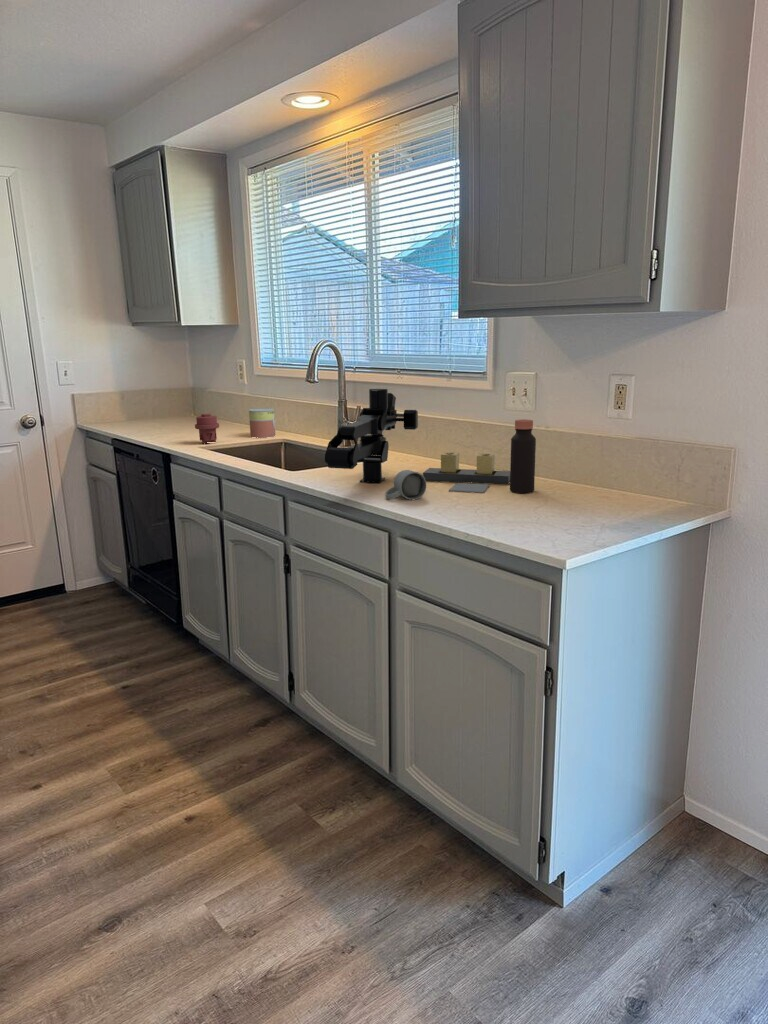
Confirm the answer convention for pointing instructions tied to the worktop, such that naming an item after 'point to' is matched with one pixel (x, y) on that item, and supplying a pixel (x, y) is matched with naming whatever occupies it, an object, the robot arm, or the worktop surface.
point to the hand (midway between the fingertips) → (397, 416)
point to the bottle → (522, 457)
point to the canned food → (262, 422)
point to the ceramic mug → (407, 485)
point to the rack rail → (467, 476)
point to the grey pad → (469, 487)
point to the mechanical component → (207, 427)
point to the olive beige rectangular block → (485, 464)
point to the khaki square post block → (450, 462)
